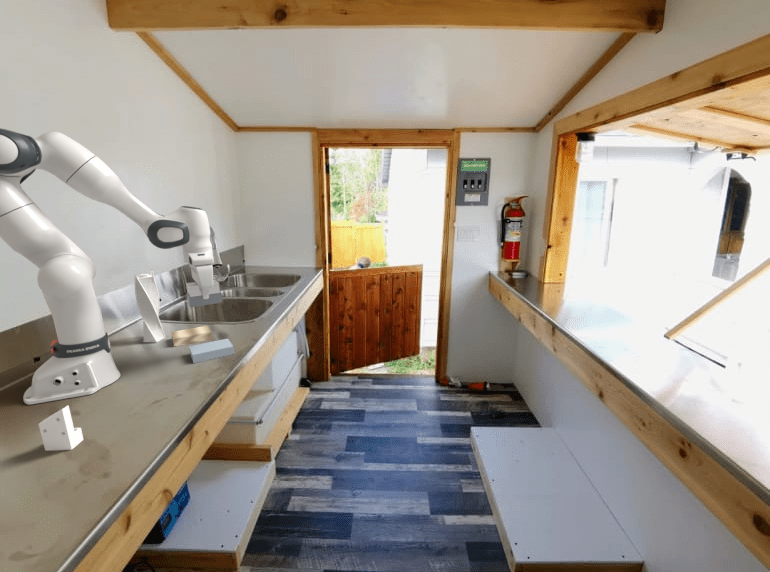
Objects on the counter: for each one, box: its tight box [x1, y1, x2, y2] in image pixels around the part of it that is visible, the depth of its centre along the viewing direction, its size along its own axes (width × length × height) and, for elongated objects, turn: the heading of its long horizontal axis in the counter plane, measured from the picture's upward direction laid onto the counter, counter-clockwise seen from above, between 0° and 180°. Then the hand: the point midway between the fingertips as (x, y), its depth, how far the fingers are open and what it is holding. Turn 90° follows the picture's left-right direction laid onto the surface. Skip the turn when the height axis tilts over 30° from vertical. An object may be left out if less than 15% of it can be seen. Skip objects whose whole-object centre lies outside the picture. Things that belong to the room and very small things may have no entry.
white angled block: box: [38, 405, 84, 452], centre depth 86 cm, size 4×10×9 cm
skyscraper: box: [134, 269, 169, 344], centre depth 146 cm, size 8×8×28 cm
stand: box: [188, 338, 235, 364], centre depth 135 cm, size 13×9×3 cm
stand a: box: [170, 325, 213, 348], centre depth 149 cm, size 13×9×3 cm
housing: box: [185, 279, 223, 308], centre depth 130 cm, size 10×6×7 cm, turn 124°
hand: (203, 296), depth 131 cm, fingers closed on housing, 6 cm apart
